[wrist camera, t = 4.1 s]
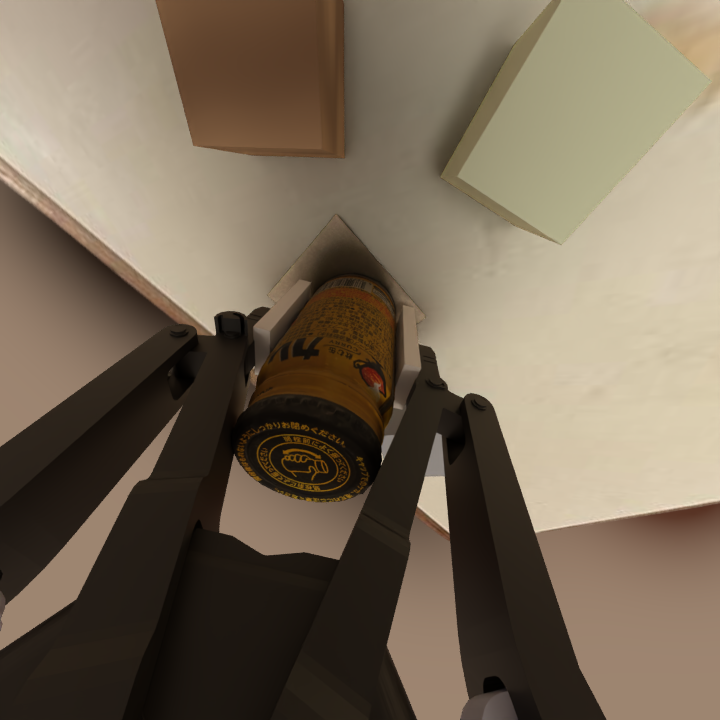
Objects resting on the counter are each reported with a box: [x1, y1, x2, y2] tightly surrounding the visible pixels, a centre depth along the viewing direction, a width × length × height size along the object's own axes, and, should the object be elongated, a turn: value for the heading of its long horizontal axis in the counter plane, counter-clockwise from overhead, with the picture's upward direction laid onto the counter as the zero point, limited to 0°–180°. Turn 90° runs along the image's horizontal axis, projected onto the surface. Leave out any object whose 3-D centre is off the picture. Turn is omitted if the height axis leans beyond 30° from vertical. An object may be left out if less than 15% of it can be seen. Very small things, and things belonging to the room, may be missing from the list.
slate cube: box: [381, 404, 445, 476], centre depth 21 cm, size 5×5×5 cm
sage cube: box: [440, 0, 712, 245], centre depth 11 cm, size 5×5×5 cm
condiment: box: [231, 214, 426, 502], centre depth 13 cm, size 7×8×12 cm
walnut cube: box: [156, 0, 345, 158], centre depth 10 cm, size 5×5×5 cm
